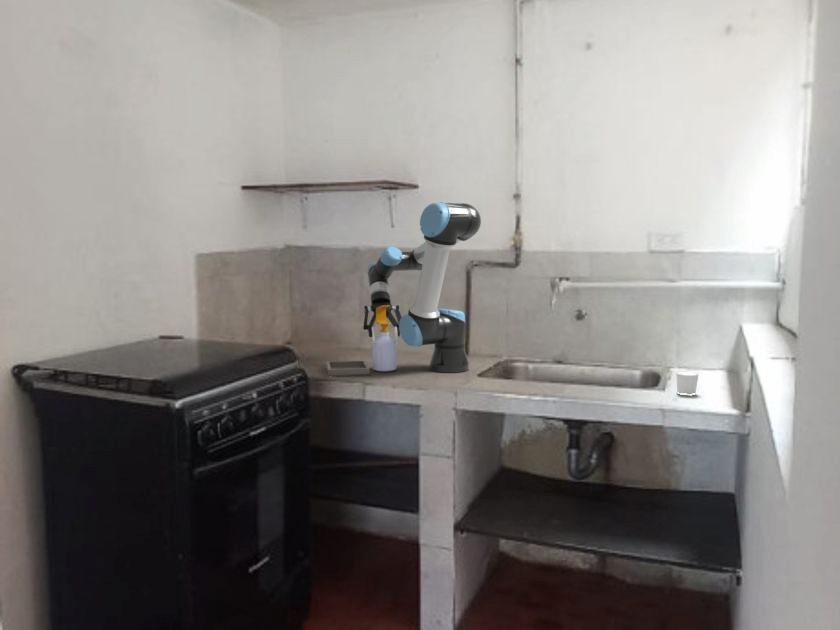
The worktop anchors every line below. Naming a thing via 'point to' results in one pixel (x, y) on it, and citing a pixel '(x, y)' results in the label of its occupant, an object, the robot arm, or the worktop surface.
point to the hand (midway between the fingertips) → (385, 342)
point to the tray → (347, 368)
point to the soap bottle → (384, 345)
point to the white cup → (686, 382)
